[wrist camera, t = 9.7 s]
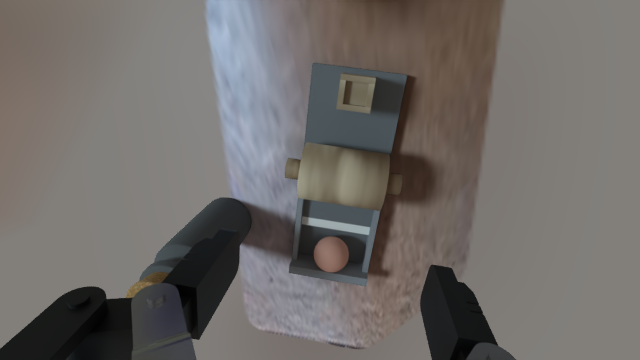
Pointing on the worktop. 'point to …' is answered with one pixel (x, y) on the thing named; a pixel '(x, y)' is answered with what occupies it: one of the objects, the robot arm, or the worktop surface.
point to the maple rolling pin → (343, 176)
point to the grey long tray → (354, 134)
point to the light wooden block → (355, 92)
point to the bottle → (195, 238)
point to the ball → (331, 254)
